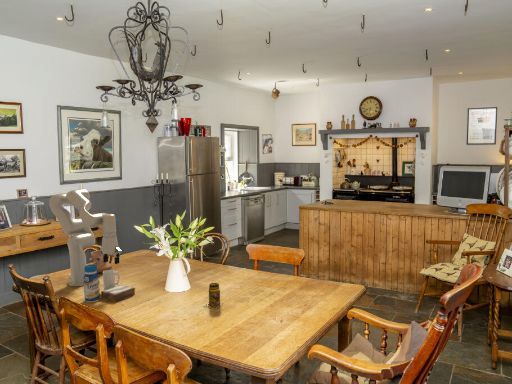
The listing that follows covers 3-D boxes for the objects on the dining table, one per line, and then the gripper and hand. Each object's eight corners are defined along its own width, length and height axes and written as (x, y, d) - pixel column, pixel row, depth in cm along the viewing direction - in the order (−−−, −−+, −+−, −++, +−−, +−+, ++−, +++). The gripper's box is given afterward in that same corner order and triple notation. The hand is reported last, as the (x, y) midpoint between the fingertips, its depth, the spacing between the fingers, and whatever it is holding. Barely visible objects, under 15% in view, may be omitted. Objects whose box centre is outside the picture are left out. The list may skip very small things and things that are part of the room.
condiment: (217, 308, 227) (217, 286, 226) (203, 306, 230) (202, 285, 229) (223, 303, 234) (222, 282, 233) (208, 302, 237) (208, 281, 236)
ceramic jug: (96, 276, 289) (95, 255, 287) (84, 272, 297) (83, 252, 296) (119, 270, 303) (118, 250, 302) (107, 267, 312) (106, 247, 310)
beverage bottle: (96, 296, 248) (94, 262, 246) (102, 300, 242) (101, 265, 240) (82, 300, 242) (80, 265, 240) (88, 304, 236) (86, 268, 234)
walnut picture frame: (101, 298, 245) (101, 291, 245) (120, 291, 257) (120, 284, 257) (116, 301, 239) (115, 294, 238) (134, 294, 251) (134, 287, 250)
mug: (106, 293, 253) (105, 273, 252) (101, 290, 258) (100, 271, 257) (122, 289, 260) (121, 270, 259) (117, 287, 265) (116, 268, 264)
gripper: (94, 234, 257) (96, 262, 258) (114, 236, 248) (116, 265, 250) (104, 232, 263) (106, 260, 265) (124, 234, 255) (126, 262, 256)
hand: (111, 262), depth 257 cm, fingers open, 9 cm apart
